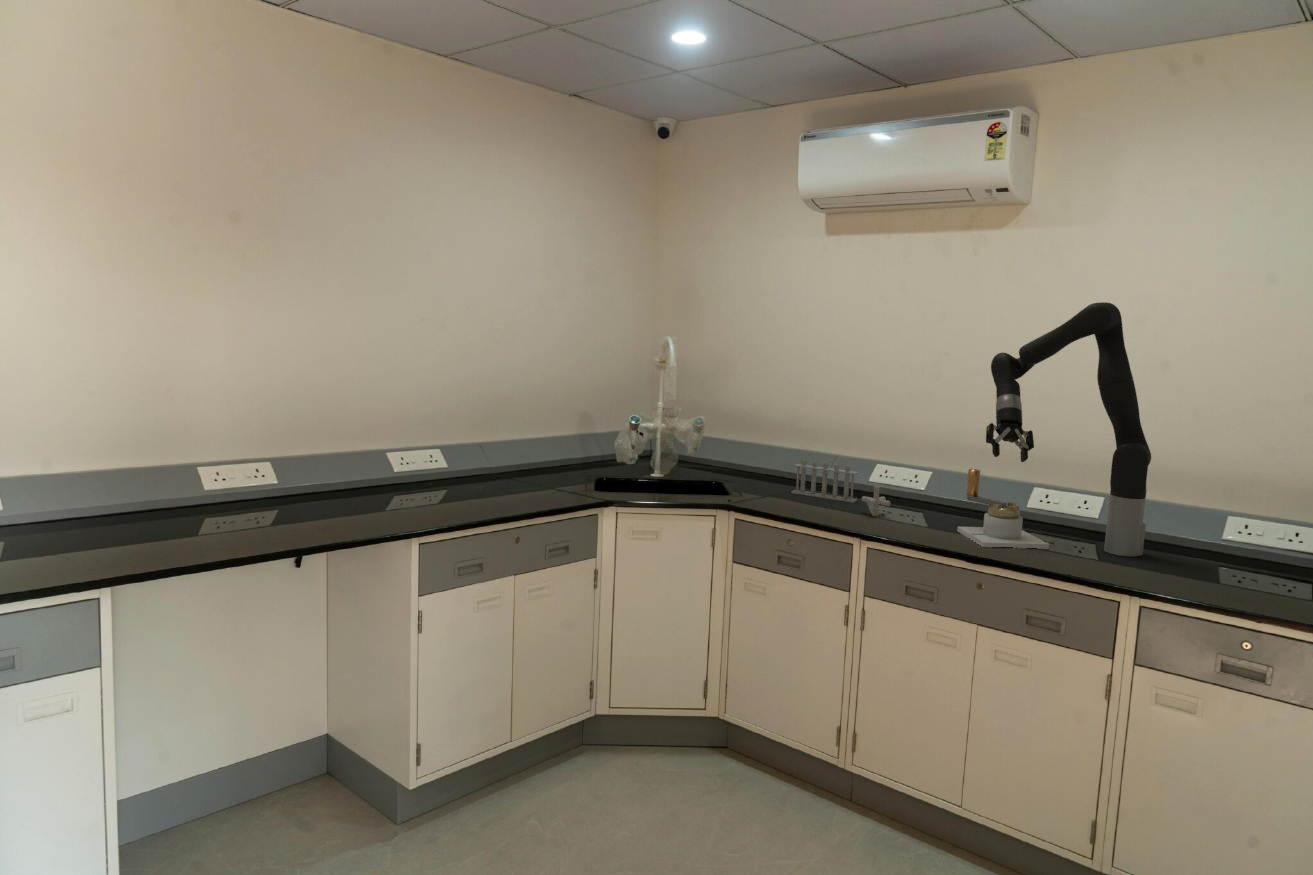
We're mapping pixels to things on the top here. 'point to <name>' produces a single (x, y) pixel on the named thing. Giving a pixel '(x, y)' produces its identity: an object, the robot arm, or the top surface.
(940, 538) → the top surface
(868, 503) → the pipe connector
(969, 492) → the lever-handled chuck
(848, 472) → the test tube rack
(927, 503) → the top surface
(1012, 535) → the cylinder on square plate
